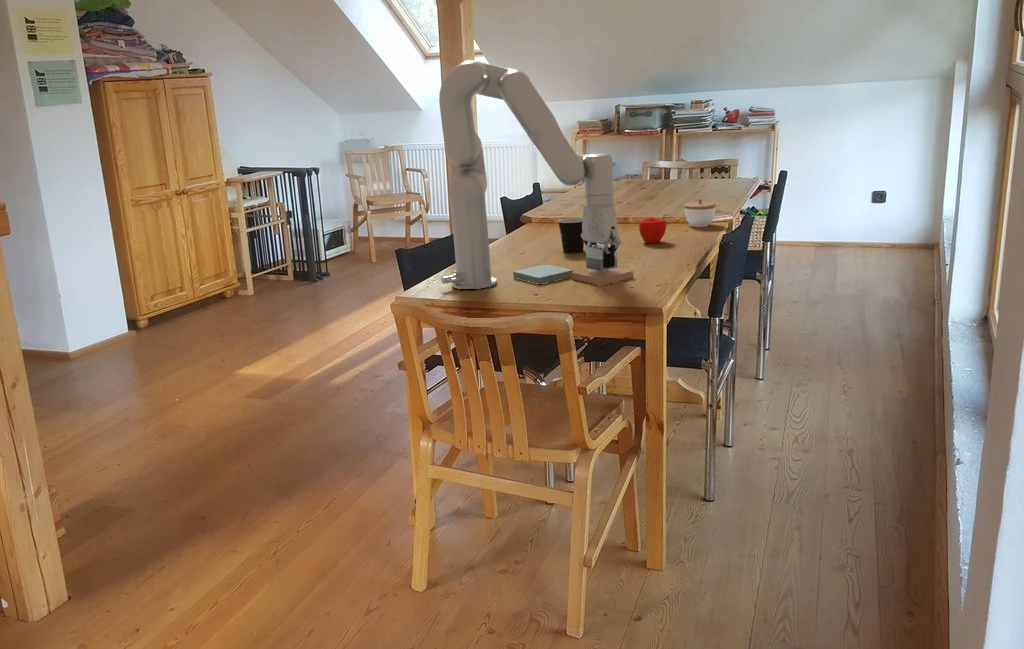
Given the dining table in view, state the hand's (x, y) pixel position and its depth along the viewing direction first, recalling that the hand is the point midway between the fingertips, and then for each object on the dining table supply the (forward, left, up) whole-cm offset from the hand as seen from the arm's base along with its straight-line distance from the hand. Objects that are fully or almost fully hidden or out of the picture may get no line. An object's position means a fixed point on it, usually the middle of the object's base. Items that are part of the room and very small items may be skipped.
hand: (601, 264), depth 238 cm
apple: (+44, +25, -4) cm, 51 cm away
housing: (0, 0, -1) cm, 1 cm away
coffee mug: (+20, +36, -4) cm, 41 cm away
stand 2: (0, 0, -4) cm, 4 cm away
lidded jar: (+75, +33, -4) cm, 82 cm away
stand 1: (-10, +14, -4) cm, 18 cm away
